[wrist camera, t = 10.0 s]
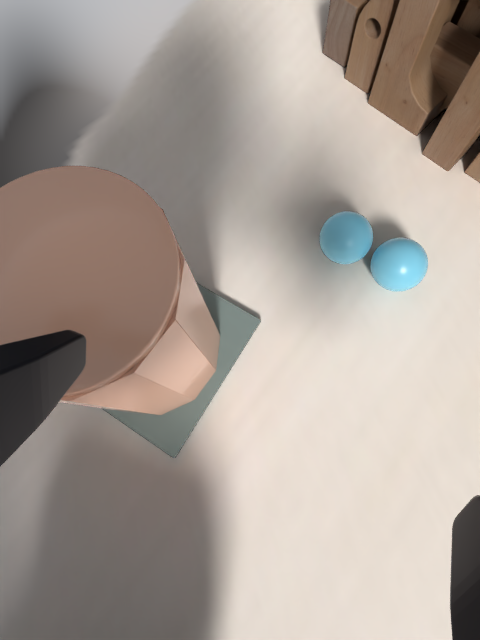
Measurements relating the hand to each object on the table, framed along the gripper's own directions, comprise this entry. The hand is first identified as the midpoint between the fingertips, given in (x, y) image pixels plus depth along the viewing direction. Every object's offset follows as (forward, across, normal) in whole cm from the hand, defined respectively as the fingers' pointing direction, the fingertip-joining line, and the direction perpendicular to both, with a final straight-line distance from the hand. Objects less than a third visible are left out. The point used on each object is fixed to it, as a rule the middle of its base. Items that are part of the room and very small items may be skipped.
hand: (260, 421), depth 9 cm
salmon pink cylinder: (+11, +8, +8) cm, 15 cm away
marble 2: (+18, -4, +2) cm, 18 cm away
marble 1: (+18, -1, +1) cm, 18 cm away
